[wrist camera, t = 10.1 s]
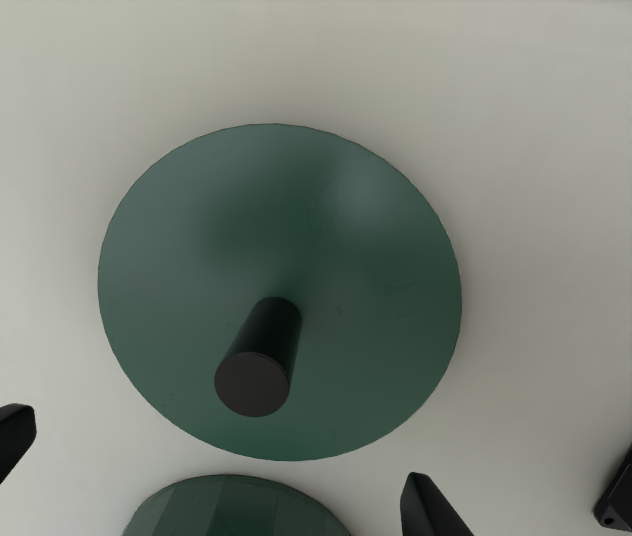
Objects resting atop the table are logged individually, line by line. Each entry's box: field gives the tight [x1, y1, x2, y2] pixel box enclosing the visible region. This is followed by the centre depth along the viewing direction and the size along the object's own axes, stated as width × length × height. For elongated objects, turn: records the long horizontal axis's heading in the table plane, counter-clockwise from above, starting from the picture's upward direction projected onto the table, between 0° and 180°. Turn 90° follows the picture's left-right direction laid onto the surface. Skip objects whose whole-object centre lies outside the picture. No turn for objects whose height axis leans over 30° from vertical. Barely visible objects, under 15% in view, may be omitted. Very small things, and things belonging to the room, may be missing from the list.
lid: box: [98, 123, 462, 461], centre depth 12 cm, size 16×16×6 cm
